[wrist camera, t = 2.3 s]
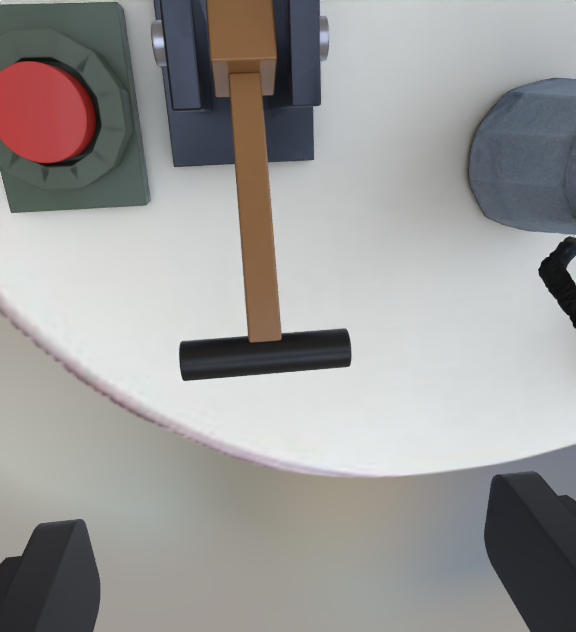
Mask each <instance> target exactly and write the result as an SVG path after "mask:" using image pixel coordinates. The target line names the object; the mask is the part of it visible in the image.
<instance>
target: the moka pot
mask: <svg viewBox="0 0 576 632" xmlns="http://www.w3.org/2000/svg"><path fill="white" fill-rule="evenodd" d="M469 180H470V185H471V188H472V191H473V193H474V195H475V197H476V199H477V202H478V204H479V205H480V207H481V209H482V211H483V213H484V216H486V217H487V218H489V219H492V220H494V221H496V222H499V223H501V224H503V225H507V226H510V227H514V228H517V229H520V230H525V231H533V232H548V233H561V234H573V235H576V79H570V78H551V79H546V80H541V81H537V82H534V83H531V84H527V85H524V86H521V87H519V88H516V89H512V90H511V91H509V92H507V93H506V94H505V95H504V96H503V97H502V98H501V99H500V100H499V101H498V102H497V104H496V105H495V106H494V107H493V108H492V109H491V111H490V112H489V114H488V115H487V116H486V117H485V119H484V120H483V121H482V122H481V124H480V126H479V128H478V130H477V132H476V136H475V139H474V141H473V144H472V147H471V152H470V163H469ZM575 256H576V238H573V237H570V236H569V237H567V238H565V239H564V241H563V242H560V243H559V245H558V247H557V248H556V250H555V251H554V252H552V253H550V256H549V257H546V258H545V259H544V260H543V261H542V262H541V266H540V268H539V269H538V271H539V276H540V277H541V278H542V280H543V281H544V283H545V285H546V287H547V288H548V290H549V292H550V293H551V294H552V295H553V296H554V298H555V299H557V301H558V304H559V305H560V307H561V308H562V310H563V311H564V312H565V313H566V314H567V315H569V316H570V320H571V321H572V322H573V327H574V328H575V329H576V285H575V282H574V281H573V280H572V278H571V276H570V274H569V273H568V271H567V270H566V268H567V265H568V264H569V262H570V261H571V260H572V259H573V258H574V257H575Z"/></svg>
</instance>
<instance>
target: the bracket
mask: <svg viewBox="0 0 576 632" xmlns="http://www.w3.org/2000/svg"><path fill="white" fill-rule="evenodd" d="M154 6H155V15H156V20H153V21H152V22H151V37H152V45H153V51H154V56H155V60H156V63H157V65H158V66H162V72H163V80H164V88H165V97H166V105H167V113H168V121H169V129H170V138H171V146H172V154H173V162H174V167H184V166H204V165H223V164H235V157H234V143H233V130H232V117H231V104H230V97H216V96H215V92H214V85H213V78H212V70H211V63H210V52H209V38H208V25H207V11H206V0H154ZM273 10H274V23H275V35H276V47H277V67H276V78H275V88H274V94H273V95H263V96H262V98H263V111H264V123H265V135H266V148H267V160H268V162H283V161H303V160H314V140H313V106H320V105H321V76H320V61H325V60H326V59H327V56H328V49H329V25H328V20H327V17H326V16H320V0H273Z"/></svg>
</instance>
